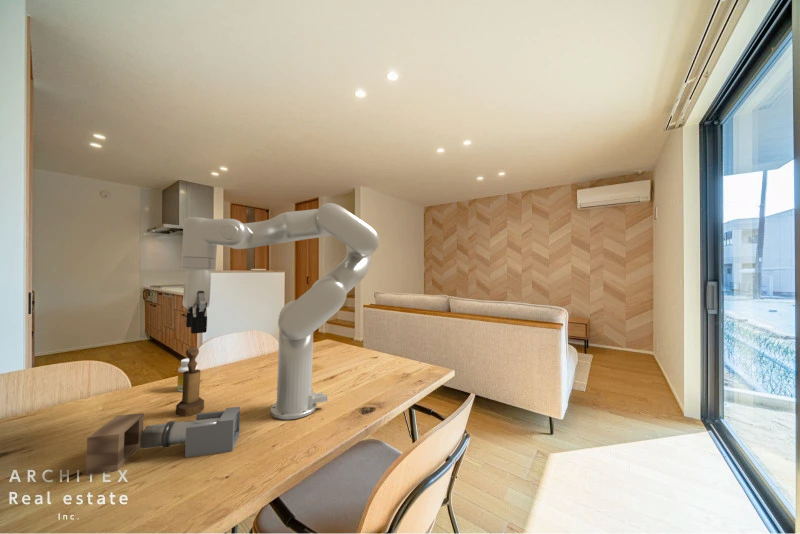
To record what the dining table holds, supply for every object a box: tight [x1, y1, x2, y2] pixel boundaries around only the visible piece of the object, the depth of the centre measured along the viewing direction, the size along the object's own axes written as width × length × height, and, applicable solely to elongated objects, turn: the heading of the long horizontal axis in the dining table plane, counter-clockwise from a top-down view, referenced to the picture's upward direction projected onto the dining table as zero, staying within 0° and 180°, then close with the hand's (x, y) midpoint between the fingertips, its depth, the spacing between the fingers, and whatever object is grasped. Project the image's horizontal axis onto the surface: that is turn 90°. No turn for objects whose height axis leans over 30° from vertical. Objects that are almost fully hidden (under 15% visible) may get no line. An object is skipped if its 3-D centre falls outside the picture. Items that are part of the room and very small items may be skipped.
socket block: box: [85, 412, 145, 476], centre depth 61 cm, size 5×9×7 cm, turn 17°
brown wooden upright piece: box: [175, 346, 205, 417], centre depth 82 cm, size 7×6×18 cm
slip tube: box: [140, 416, 237, 450], centre depth 65 cm, size 17×5×5 cm, turn 107°
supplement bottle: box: [176, 357, 199, 393], centre depth 98 cm, size 5×5×10 cm
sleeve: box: [184, 406, 241, 458], centre depth 67 cm, size 9×7×7 cm
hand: (195, 329), depth 77 cm, fingers open, 9 cm apart
